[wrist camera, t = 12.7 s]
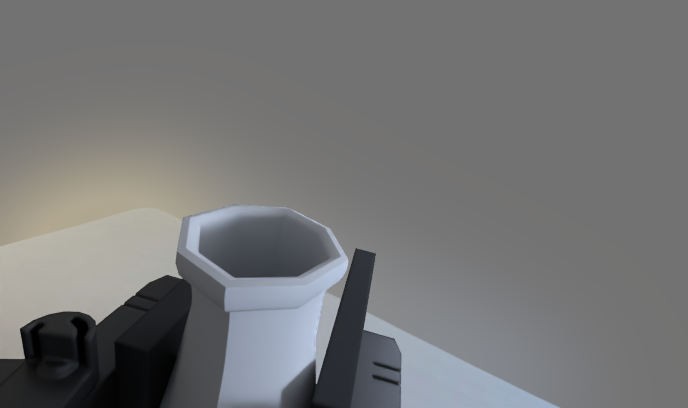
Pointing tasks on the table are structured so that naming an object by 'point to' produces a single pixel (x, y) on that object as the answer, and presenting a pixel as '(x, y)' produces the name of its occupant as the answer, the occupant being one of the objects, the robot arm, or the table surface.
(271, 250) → the flask
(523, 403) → the table surface
